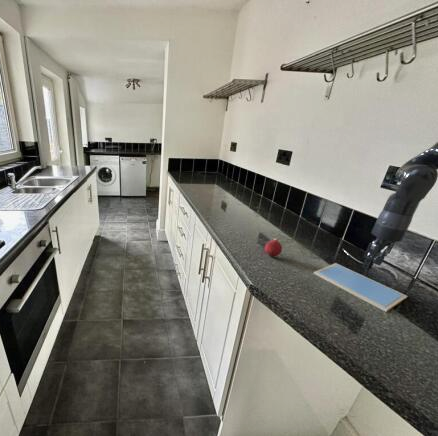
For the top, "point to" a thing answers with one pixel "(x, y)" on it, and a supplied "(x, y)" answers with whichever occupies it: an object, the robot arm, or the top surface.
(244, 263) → the top surface
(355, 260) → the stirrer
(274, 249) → the onion
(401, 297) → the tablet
